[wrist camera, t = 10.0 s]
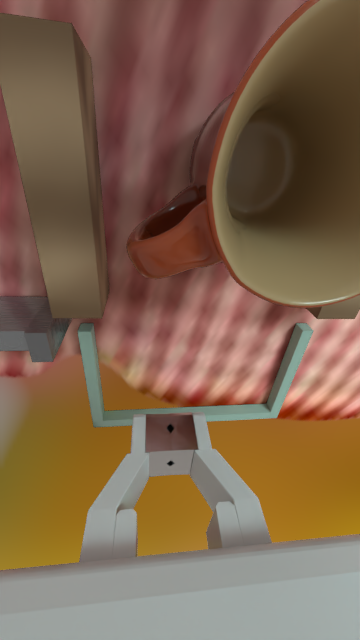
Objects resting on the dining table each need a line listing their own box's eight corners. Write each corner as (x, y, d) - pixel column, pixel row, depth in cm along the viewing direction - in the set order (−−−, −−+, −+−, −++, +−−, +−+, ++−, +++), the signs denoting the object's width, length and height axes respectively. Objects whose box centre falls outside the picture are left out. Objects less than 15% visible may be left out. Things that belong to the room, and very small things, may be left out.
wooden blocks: (26, 48, 13) (-17, 10, 9) (403, 98, 15) (475, 83, 12) (68, 290, 19) (52, 318, 16) (323, 294, 22) (354, 318, 19)
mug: (301, 43, 14) (567, -147, 5) (317, 207, 18) (469, 254, 10) (101, 148, 15) (41, 138, 6) (163, 275, 20) (176, 367, 11)
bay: (80, 323, 21) (77, 331, 20) (306, 323, 24) (313, 330, 23) (95, 417, 28) (93, 427, 26) (272, 409, 30) (276, 417, 29)
